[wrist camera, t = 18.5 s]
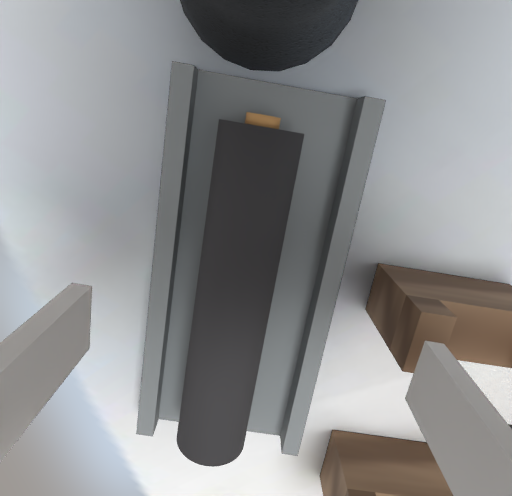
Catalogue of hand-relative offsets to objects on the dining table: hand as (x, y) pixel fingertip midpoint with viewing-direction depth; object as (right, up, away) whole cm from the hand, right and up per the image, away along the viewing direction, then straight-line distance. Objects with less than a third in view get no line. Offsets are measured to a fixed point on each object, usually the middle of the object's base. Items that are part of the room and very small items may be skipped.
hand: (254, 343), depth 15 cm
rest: (+11, +1, +8) cm, 14 cm away
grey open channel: (-1, +2, +8) cm, 8 cm away
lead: (-1, +1, +7) cm, 8 cm away
